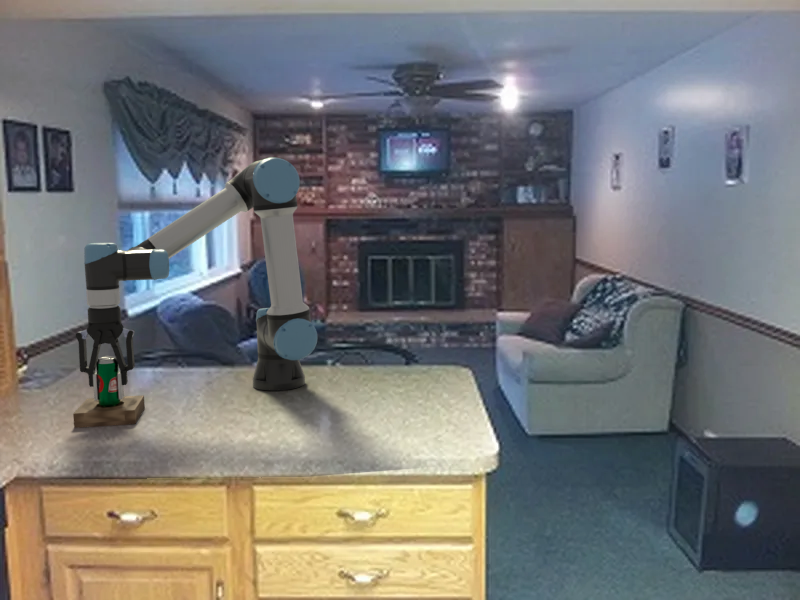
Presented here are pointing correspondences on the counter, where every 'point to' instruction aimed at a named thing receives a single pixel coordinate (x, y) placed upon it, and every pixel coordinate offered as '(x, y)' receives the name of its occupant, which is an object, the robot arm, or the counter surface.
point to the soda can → (107, 381)
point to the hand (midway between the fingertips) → (109, 398)
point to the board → (109, 412)
